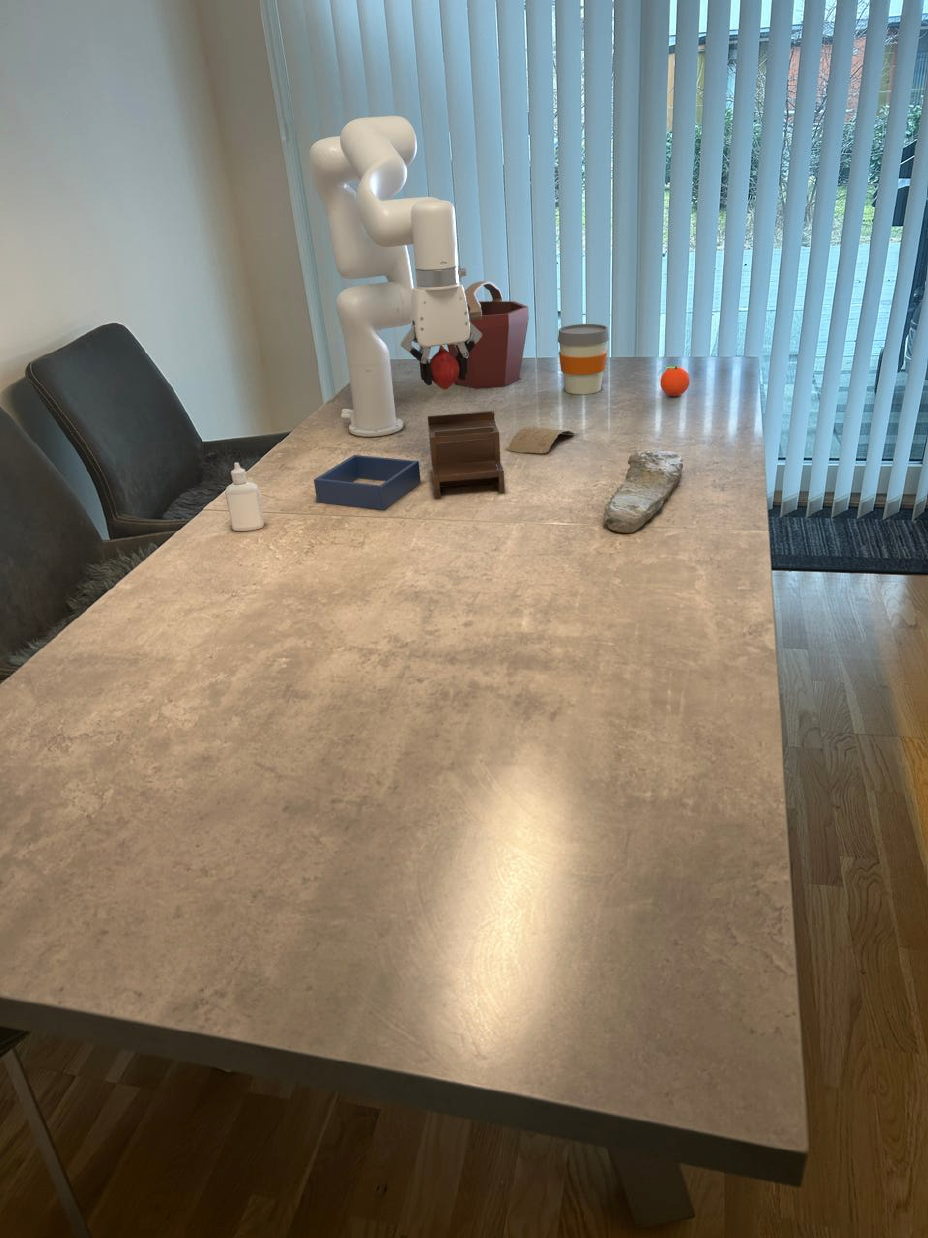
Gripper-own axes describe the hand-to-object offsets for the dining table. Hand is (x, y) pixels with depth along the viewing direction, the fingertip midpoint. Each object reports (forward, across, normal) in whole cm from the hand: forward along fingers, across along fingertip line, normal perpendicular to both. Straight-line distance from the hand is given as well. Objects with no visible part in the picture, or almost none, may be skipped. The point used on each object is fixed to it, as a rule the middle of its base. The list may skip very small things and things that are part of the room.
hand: (444, 380), depth 165 cm
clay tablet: (+20, -25, -12) cm, 34 cm away
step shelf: (+19, -2, +3) cm, 20 cm away
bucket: (+20, -33, -69) cm, 79 cm away
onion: (+2, 0, 0) cm, 2 cm away
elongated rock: (+19, -28, +26) cm, 43 cm away
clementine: (+20, -67, -29) cm, 76 cm away
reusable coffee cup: (+20, -51, -46) cm, 72 cm away
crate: (+19, +16, -1) cm, 25 cm away
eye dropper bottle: (+20, +40, +6) cm, 45 cm away
